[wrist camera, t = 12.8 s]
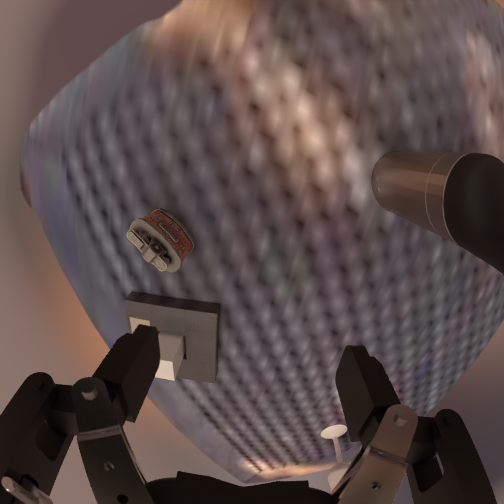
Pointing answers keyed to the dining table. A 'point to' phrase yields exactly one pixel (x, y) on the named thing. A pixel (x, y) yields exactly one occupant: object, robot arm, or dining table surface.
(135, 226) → the lighter
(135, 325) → the slot holder
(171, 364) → the peg
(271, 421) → the dining table surface
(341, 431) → the champagne flute
